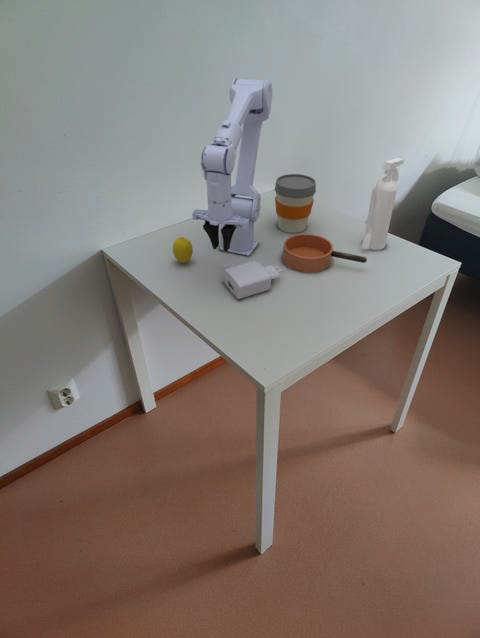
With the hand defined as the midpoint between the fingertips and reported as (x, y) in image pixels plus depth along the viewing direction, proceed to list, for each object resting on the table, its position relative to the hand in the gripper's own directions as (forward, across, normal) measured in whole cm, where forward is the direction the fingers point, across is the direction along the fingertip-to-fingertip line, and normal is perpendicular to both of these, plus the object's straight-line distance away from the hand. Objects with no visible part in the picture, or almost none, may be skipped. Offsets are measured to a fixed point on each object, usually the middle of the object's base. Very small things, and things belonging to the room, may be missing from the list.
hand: (221, 248), depth 105 cm
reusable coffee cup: (+9, +9, +35) cm, 37 cm away
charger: (+9, +10, 0) cm, 13 cm away
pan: (+8, +19, +17) cm, 27 cm away
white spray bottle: (+9, +35, +32) cm, 48 cm away
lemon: (+9, -13, +2) cm, 16 cm away
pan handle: (+6, +30, +17) cm, 35 cm away
